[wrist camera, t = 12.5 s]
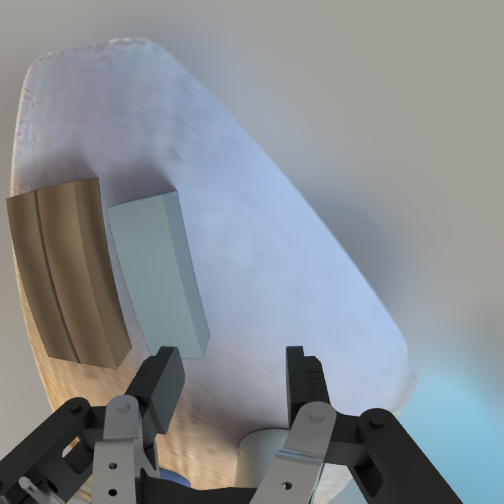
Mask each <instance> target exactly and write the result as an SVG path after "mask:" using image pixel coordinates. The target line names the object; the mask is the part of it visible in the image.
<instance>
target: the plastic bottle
mask: <svg viewBox="0 0 504 504" xmlns="http://www.w3.org/2000/svg"><path fill="white" fill-rule="evenodd" d="M92 475H93V474H92ZM92 475H91V476H90V477H89V478H88V479H87V481H86V482H85V483H84V484H83V485H82V486H81V487H80V489H79V490H78V491H77V492H76V493H75V494H74V495H73V497H72V498H71V499H70V500H69V501H68V502H67V503H66V504H90V503H91V495H92Z"/></svg>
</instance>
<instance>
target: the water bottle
mask: <svg viewBox="0 0 504 504" xmlns="http://www.w3.org/2000/svg"><path fill="white" fill-rule="evenodd" d="M159 471H160V477H161V479H166V480H171V481H174V482H177V483H179V484H182V485H185V486H187V487H191V484H190V482H189V481H188V480H187V479H186V478H184V477H183V476H181V475H179V474H177V473H175V472H172V471H169V470H166V469H162V468H159Z"/></svg>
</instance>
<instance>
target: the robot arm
mask: <svg viewBox="0 0 504 504" xmlns="http://www.w3.org/2000/svg"><path fill="white" fill-rule="evenodd" d="M184 380H185V374H184V369H183V365H182V361H181V357H180V352H179V349H178V347H174V346H161V347H160V349H159V350H158V352H157V354H156V356H150V357H149V358H147V359H146V360H145V361H143V363H142V365H141V367H140V368H139V370H138V372H137V373H136V376H135V377H134V379H133V380H132V382H131V384H130V385H129V387H128V389H127V391H126V392H125V394H124V395H119V396H116V397H114V398H113V399H111V400H110V401H109V402H108V404H107V406H95V407H91V405H90V404H89V402H88V401H87V400H86V399H85V398H81V397H75V398H72V399H69V400H68V401H66V402H65V403H64V404H63V405H62V406H61V407H60V408H58V409H57V410H56V411H55V412H54V413H53V414H52V415H51V416H49V417H48V418H47V419H46V420H45V421H44V422H43V423H42V424H41V425H40V426H38V427H37V428H36V429H35V430H34V431H33V432H32V433H31V434H30V435H28V437H26V438H25V439H24V440H23V441H22V442H21V443H20V444H19V445H17V446H16V447H15V448H14V449H13V450H12V451H11V452H10V453H9V454H8V455H7V456H5V457H4V458H3V459H2V460H1V461H0V504H66V503H67V502H68V501H69V500H70V499H71V498H72V497H73V495H74V494H75V493H76V492H77V491H78V490H79V489H80V487H81V486H82V485H83V484H84V483H85V482H86V481H87V479H88V478H89V477H90V476H91V475H92V474H93V475H92V495H91V503H90V504H313V500H314V497H315V493H316V490H317V487H318V484H319V481H320V478H321V476H322V473H323V469H324V466H325V463H330V464H337V465H345V466H347V467H348V469H349V471H350V473H351V474H352V476H353V478H354V480H355V482H356V483H357V485H358V487H359V489H360V491H361V492H362V494H363V496H364V498H365V499H366V501H367V503H368V504H463V503H462V501H461V500H460V499H459V498H458V496H457V495H456V494H455V492H454V491H453V490H452V489H451V487H450V486H449V485H448V484H447V482H446V481H445V480H444V478H443V477H442V476H441V475H440V474H439V472H438V471H437V470H436V468H435V467H434V466H433V464H432V463H431V462H430V461H429V459H428V458H427V457H426V456H425V454H424V453H423V452H422V451H421V449H420V448H419V447H418V445H417V444H416V443H415V442H414V440H413V439H412V438H411V437H410V435H409V434H408V433H407V432H406V430H405V429H404V428H403V427H402V425H401V424H400V423H399V422H398V420H397V419H396V418H395V417H394V415H393V414H392V413H391V412H389V411H387V410H385V409H381V408H373V409H369V410H367V411H365V412H363V413H362V414H361V416H360V417H359V416H350V415H344V414H341V413H339V412H337V411H336V410H335V409H334V408H333V407H332V406H331V403H330V400H329V395H328V391H327V386H326V382H325V379H324V373H323V369H322V365H321V362H320V361H319V360H318V359H317V358H316V357H315V356H306V357H304V352H303V346H287V347H286V389H287V406H288V424H289V430H285V429H266V430H260V431H256V432H253V433H251V434H249V435H247V436H245V437H244V438H243V439H242V440H241V442H240V444H239V451H238V457H237V468H236V477H235V486H234V487H227V488H219V489H211V490H196V489H193V488H190V487H187V486H185V485H182V484H179V483H177V482H174V481H171V480H166V479H161V477H160V471H159V463H158V453H157V443H156V441H155V437H156V434H157V433H158V434H165V435H166V432H167V430H168V427H169V424H170V421H171V418H172V416H173V413H174V410H175V407H176V404H177V402H178V399H179V396H180V393H181V391H182V388H183V385H184ZM76 437H78V438H79V440H80V441H79V442H78V443H77V444H76V445H75V446H74V448H73V449H72V450H71V451H70V452H69V453H68V454H67V455H66V456H65V457H64V458H63V457H62V452H63V450H64V449H65V448H66V446H68V445H69V444H70V443H71V442H72V441H73V440H74V439H75V438H76Z"/></svg>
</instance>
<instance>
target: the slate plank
mask: <svg viewBox="0 0 504 504" xmlns="http://www.w3.org/2000/svg"><path fill="white" fill-rule="evenodd" d="M106 209H107V213H108V218H109V222H110V227H111V231H112V235H113V239H114V243H115V247H116V251H117V255H118V259H119V262H120V266H121V269H122V273H123V276H124V280H125V283H126V286H127V290H128V293H129V296H130V299H131V302H132V305H133V308H134V311H135V314H136V317H137V320H138V323H139V326H140V329H141V331H142V334H143V337H144V340H145V342H146V345H147V348H148V350H149V353H150V355H151V356H156V354H157V352H158V350H159V349H160V347H161V346H174V347H178V349H179V352H180V357H181V359H184V358H203V356H204V353H205V350H206V347H207V344H208V340H209V337H210V333H209V329H208V326H207V322H206V318H205V314H204V310H203V306H202V302H201V298H200V294H199V290H198V286H197V281H196V277H195V273H194V268H193V264H192V260H191V255H190V251H189V246H188V241H187V237H186V232H185V227H184V222H183V217H182V212H181V207H180V202H179V196H178V191H173V192H168V193H163V194H159V195H154V196H150V197H145V198H141V199H137V200H132V201H128V202H125V203H121V204H118V205H115V206H112V207H108V208H106Z"/></svg>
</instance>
